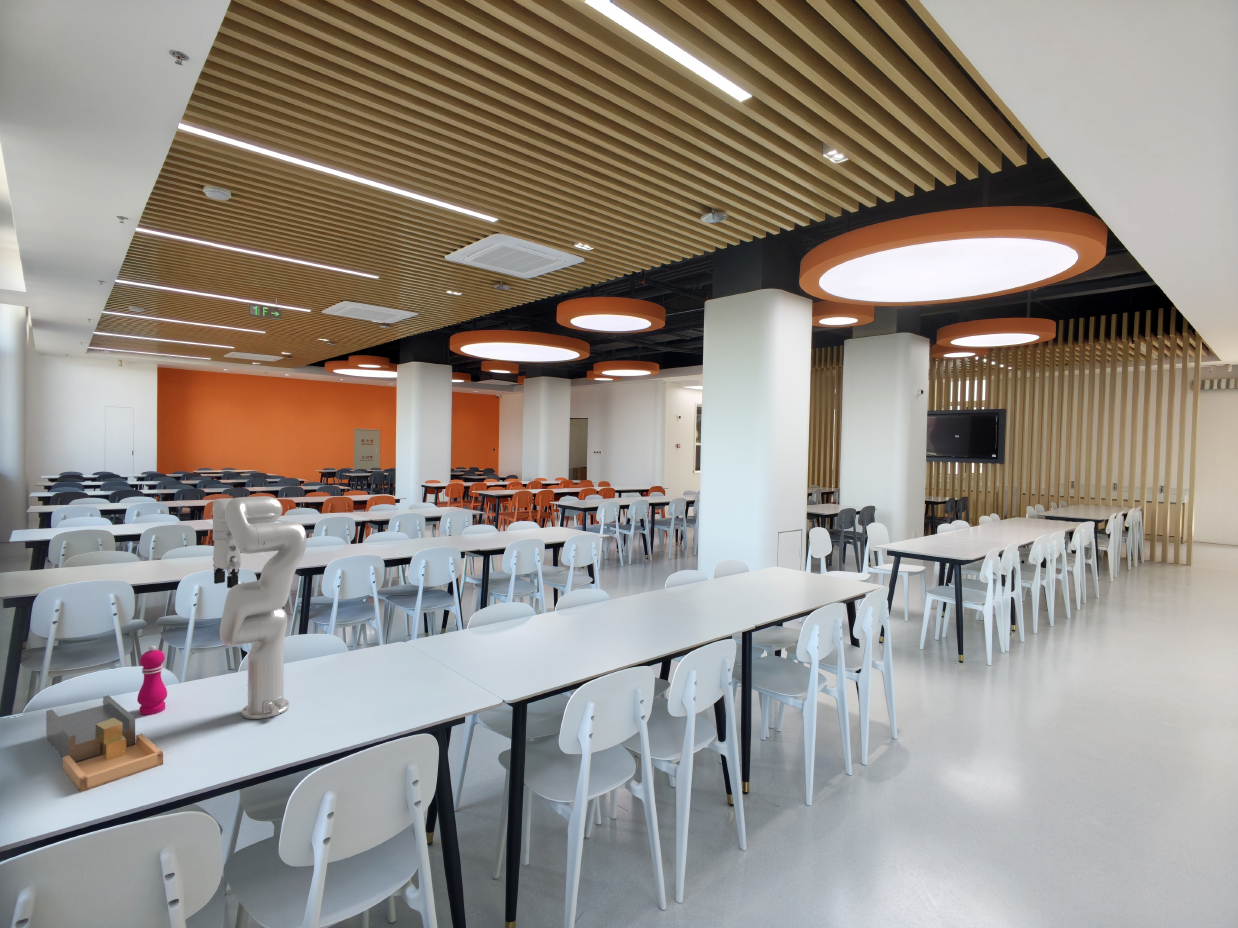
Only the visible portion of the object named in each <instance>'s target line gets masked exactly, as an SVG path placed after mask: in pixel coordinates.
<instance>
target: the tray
mask: <svg viewBox="0 0 1238 928" xmlns="http://www.w3.org/2000/svg"><path fill="white" fill-rule="evenodd" d="M162 765H164V752H163V751H162V750H161V749H160V748H159V747H157V746H156V745H155V744H154V743H153V742H152V741H151V740H150V739H149V738H148V737H146V736H145V735H144V734H143V733H138V734H135V745H132V746H129V747H126V755H123V756H120V757H117V758H113V759H110V760H107V761H106V759H105V758H104V757H103V755H100V756H97V757H94V758H90V759H87V760H84V761H81V762H77V763H75V762H74V760H73V759H72V758H71V757H70V756H69V755H68V756H65V757H63V758H62V770H63V771H64V772H65V774H66V775H67V777H69V780H71V782H72V783H73V784H74V786H75V787H76V788H77V789H78V790H79V792H80V793H83V792H85V791H88V790H91V789H95V788H97V787H100V786H103V785H106V784H109V783H112V782H114V781H119V780H121V779H124V778H127V777H129V776H132V775H136V774H138V773H141V772H144V771H147V770H149V769H153V768H155V767H159V766H162Z"/></svg>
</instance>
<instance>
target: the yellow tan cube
mask: <svg viewBox="0 0 1238 928" xmlns="http://www.w3.org/2000/svg"><path fill="white" fill-rule="evenodd" d="M122 725H123V723H122V722H121V721H119V720H117V719H115V718H112V719H109V720H106V721H103V722H101V723H98V724H96V731H95V739H96V740H98V741H99V742H101V743H103V744H106V743H108V742H111V741H113V740H116V739H119V738H121V737H122Z"/></svg>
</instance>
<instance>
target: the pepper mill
mask: <svg viewBox="0 0 1238 928" xmlns="http://www.w3.org/2000/svg"><path fill="white" fill-rule="evenodd" d="M165 658H166V657H165V653H164V652H163V651H161V650H159V649H157V646H156V645H150V646H149V648H148V651H146V652H144V653H143V654H142V655H141V656H140V658H139V664H140V665H141V666H142V668H141V670H142V671H141V674H143V682H142V684H141V687H140V690H139V691H138V694H137V703H138V704H139V705H140V706H139V709H138V711H139V715H142V716H151V715H155V714H158V713H159V714H160V713H161V712H163V711H165V710H166V702H165V700H166V699H167V697H168V689H167V688H166V684H164V682H163V680H162V670H164V669H163V666H164V665H163V663H164V662H165V660H166V659H165Z"/></svg>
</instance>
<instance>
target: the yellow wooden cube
mask: <svg viewBox="0 0 1238 928" xmlns="http://www.w3.org/2000/svg"><path fill="white" fill-rule="evenodd" d="M102 747H103V757H104V758H105V759H106V761H107V760H110V759H113V758H117V757H120V756H123V755H126V739H125V737H124V736H123V735H122V737H121V738H119V739H116V740H113V741H111V742H108V743H106V744H103V743H102Z"/></svg>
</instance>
